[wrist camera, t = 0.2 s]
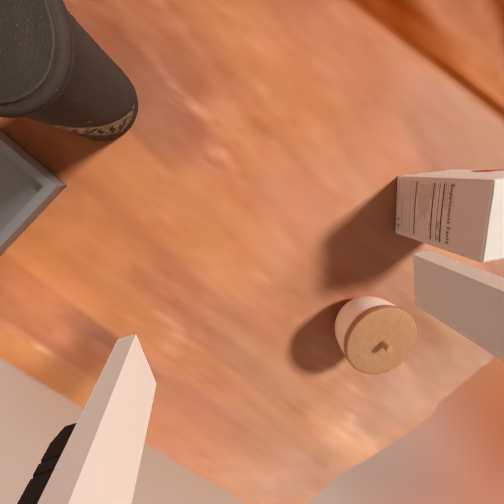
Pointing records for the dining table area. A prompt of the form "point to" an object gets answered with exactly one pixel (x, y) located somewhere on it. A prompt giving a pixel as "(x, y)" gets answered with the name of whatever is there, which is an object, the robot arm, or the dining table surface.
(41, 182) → the slate tray
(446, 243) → the supplement box
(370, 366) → the lidded jar
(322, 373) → the dining table surface
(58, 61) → the container
